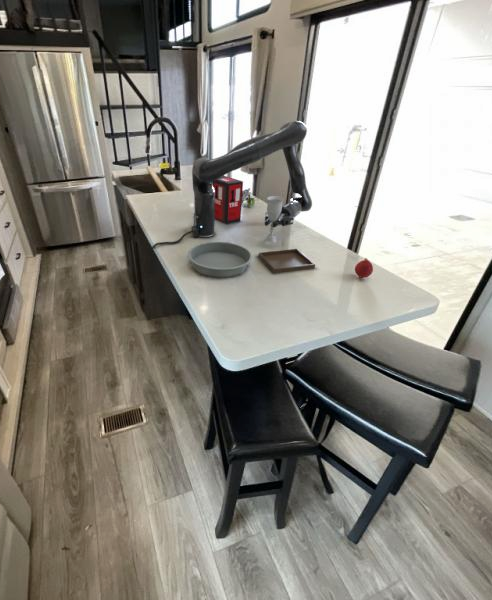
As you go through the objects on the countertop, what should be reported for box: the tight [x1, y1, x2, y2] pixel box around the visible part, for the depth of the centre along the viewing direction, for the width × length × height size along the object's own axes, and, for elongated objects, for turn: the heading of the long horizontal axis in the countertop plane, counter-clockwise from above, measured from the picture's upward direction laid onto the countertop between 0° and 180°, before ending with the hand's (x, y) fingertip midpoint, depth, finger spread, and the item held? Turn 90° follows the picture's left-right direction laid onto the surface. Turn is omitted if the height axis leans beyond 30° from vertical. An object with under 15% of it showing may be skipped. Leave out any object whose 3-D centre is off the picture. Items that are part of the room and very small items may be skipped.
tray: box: [257, 248, 316, 274], centre depth 126 cm, size 17×15×2 cm
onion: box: [354, 257, 374, 280], centre depth 114 cm, size 6×6×8 cm
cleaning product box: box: [213, 175, 244, 225], centre depth 165 cm, size 16×9×20 cm, turn 34°
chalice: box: [264, 195, 285, 244], centre depth 132 cm, size 7×7×18 cm
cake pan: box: [187, 241, 253, 278], centre depth 123 cm, size 25×25×4 cm
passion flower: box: [242, 187, 259, 209], centre depth 189 cm, size 11×11×12 cm
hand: (269, 224), depth 131 cm, fingers closed on chalice, 3 cm apart
